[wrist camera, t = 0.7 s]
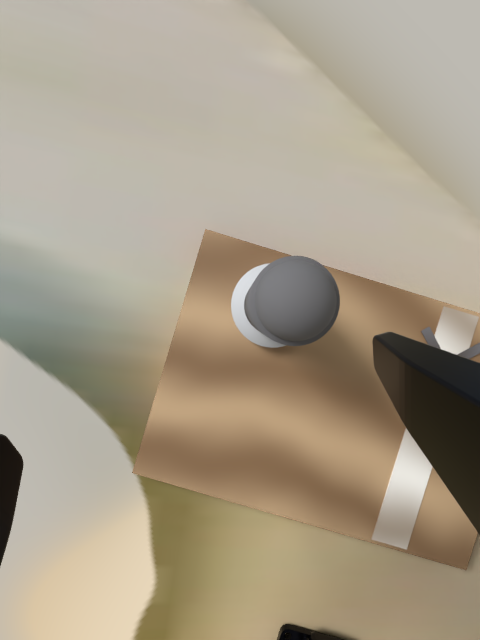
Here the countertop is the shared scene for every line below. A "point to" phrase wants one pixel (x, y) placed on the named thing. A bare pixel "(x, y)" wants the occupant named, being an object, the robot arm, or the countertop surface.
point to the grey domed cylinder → (286, 302)
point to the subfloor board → (305, 412)
